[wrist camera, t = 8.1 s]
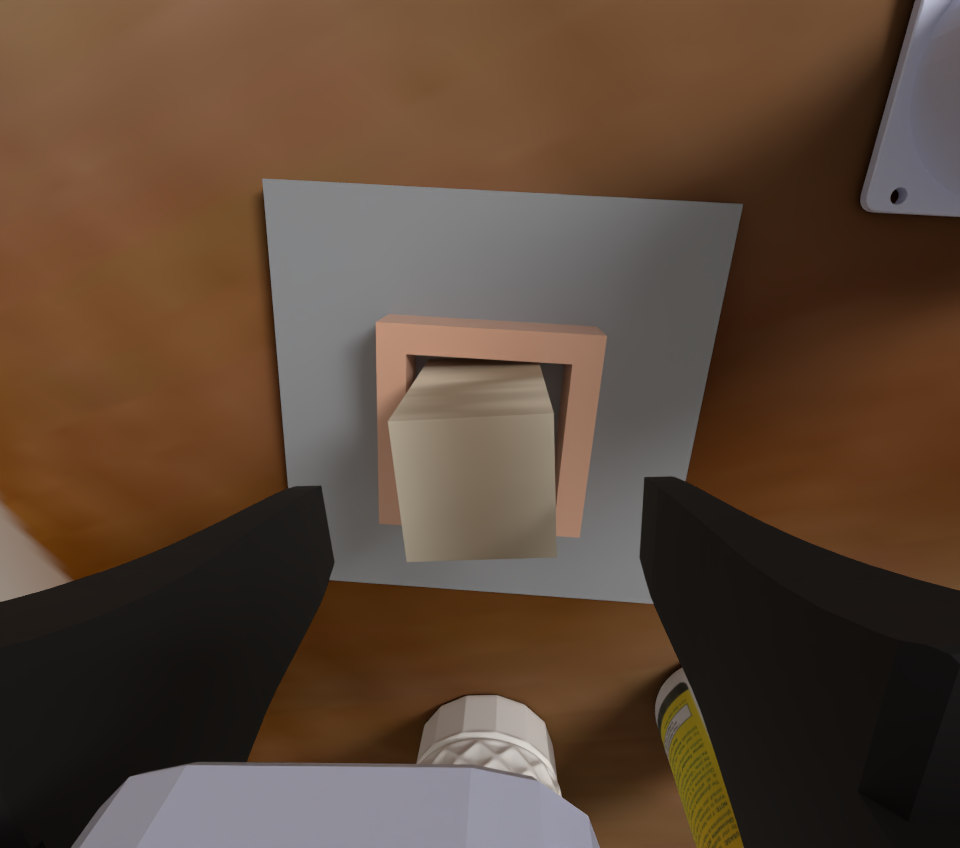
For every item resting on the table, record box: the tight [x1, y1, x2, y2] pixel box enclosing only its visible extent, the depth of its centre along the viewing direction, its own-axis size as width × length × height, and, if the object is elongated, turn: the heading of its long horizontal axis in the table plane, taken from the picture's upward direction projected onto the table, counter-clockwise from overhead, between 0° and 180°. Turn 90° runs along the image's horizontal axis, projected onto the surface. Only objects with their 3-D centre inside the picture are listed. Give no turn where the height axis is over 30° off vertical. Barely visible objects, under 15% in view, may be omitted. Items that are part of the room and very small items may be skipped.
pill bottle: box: [655, 668, 744, 848], centre depth 20 cm, size 6×6×11 cm
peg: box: [388, 358, 557, 562], centre depth 16 cm, size 4×4×7 cm
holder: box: [262, 179, 743, 604], centre depth 19 cm, size 16×16×3 cm
